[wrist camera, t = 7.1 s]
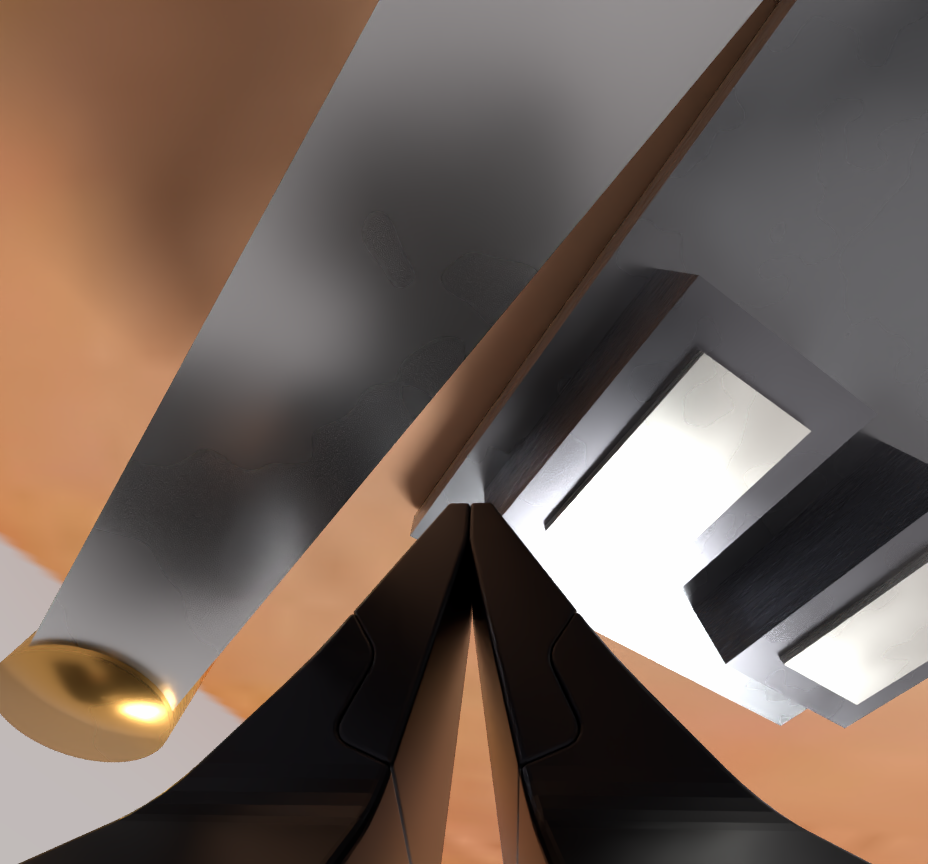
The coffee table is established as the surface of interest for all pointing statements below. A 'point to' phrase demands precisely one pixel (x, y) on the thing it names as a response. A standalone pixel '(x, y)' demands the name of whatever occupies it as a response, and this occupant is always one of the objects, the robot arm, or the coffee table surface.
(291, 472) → the cable arm
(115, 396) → the coffee table surface
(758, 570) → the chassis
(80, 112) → the coffee table surface
